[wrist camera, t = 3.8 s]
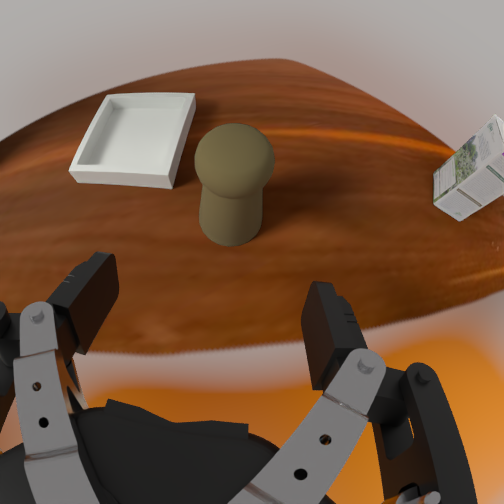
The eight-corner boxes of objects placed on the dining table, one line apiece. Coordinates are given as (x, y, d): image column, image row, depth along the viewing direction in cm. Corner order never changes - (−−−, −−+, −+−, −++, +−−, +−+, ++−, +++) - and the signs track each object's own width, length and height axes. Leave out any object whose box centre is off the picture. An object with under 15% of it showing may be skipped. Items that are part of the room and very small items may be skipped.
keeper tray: (78, 182, 26) (68, 171, 23) (112, 108, 29) (107, 94, 27) (172, 189, 26) (167, 175, 24) (196, 108, 30) (194, 93, 27)
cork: (226, 177, 27) (229, 97, 17) (274, 212, 27) (304, 142, 16) (185, 220, 26) (164, 150, 15) (235, 259, 25) (244, 206, 15)
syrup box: (460, 223, 29) (534, 176, 16) (430, 204, 29) (506, 145, 16) (459, 190, 31) (523, 140, 17) (431, 171, 31) (494, 111, 17)
